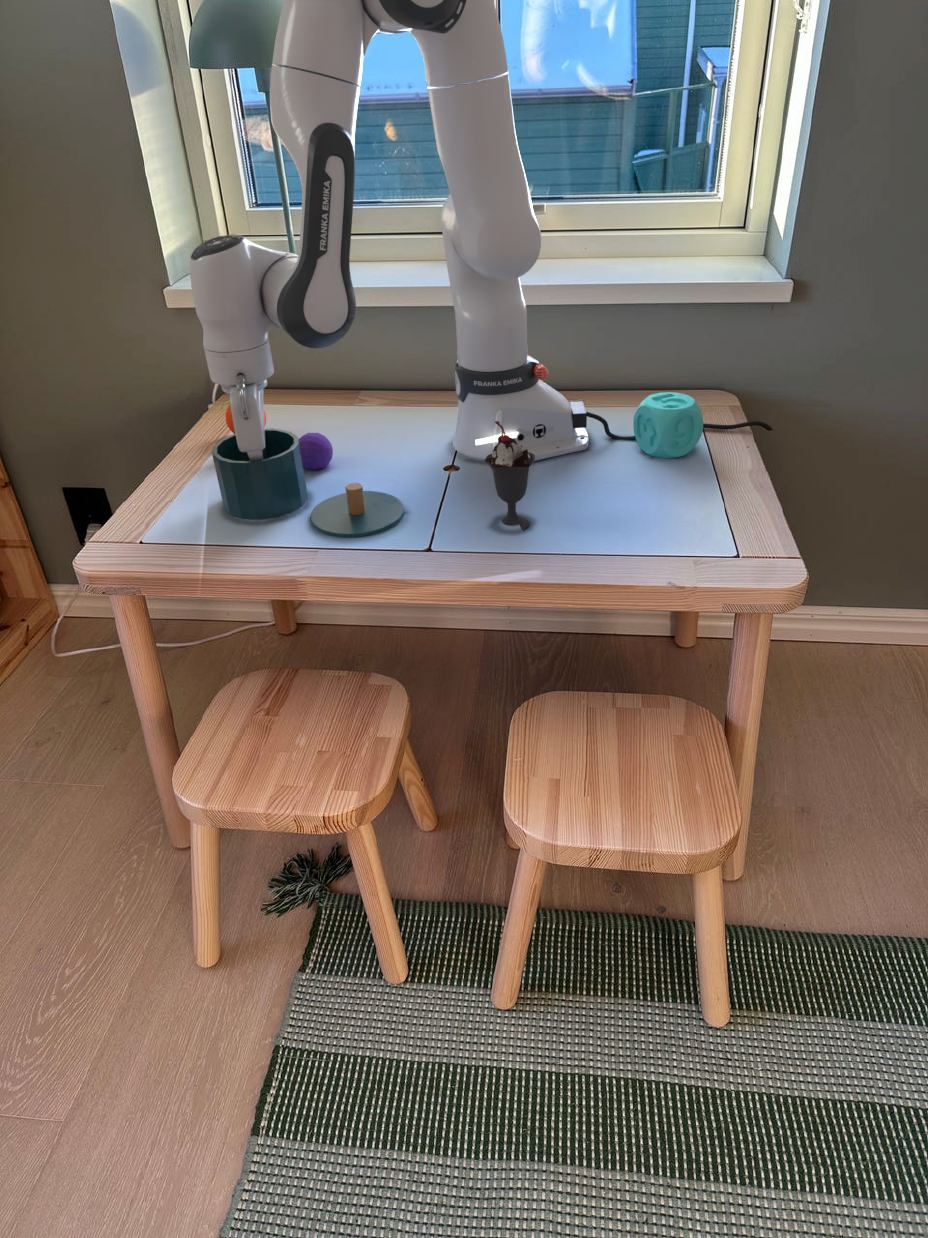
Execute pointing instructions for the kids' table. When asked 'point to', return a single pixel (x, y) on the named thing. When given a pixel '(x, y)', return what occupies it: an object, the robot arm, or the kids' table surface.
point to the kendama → (315, 451)
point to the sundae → (510, 475)
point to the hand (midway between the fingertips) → (258, 456)
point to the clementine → (230, 420)
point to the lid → (357, 513)
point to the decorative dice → (668, 424)
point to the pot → (261, 477)
